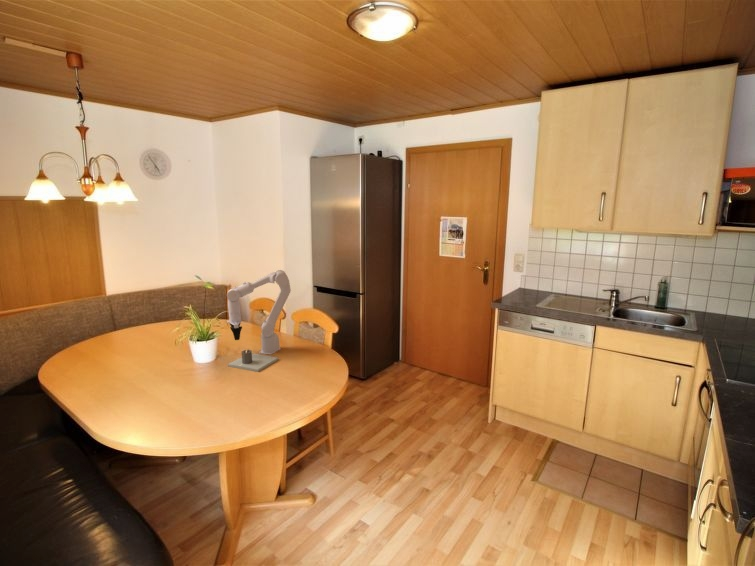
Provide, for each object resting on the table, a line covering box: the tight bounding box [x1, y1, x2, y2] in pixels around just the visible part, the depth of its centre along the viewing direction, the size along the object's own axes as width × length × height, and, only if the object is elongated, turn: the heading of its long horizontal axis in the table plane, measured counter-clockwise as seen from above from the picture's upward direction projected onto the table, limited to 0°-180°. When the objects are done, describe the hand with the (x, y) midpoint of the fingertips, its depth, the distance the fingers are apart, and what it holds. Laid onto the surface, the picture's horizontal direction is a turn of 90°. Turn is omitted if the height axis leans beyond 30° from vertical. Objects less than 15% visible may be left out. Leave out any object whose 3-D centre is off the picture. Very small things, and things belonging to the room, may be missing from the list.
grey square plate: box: [227, 353, 279, 373], centre depth 207 cm, size 16×18×4 cm
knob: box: [241, 349, 252, 364], centre depth 205 cm, size 5×5×6 cm
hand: (236, 337), depth 217 cm, fingers open, 7 cm apart
